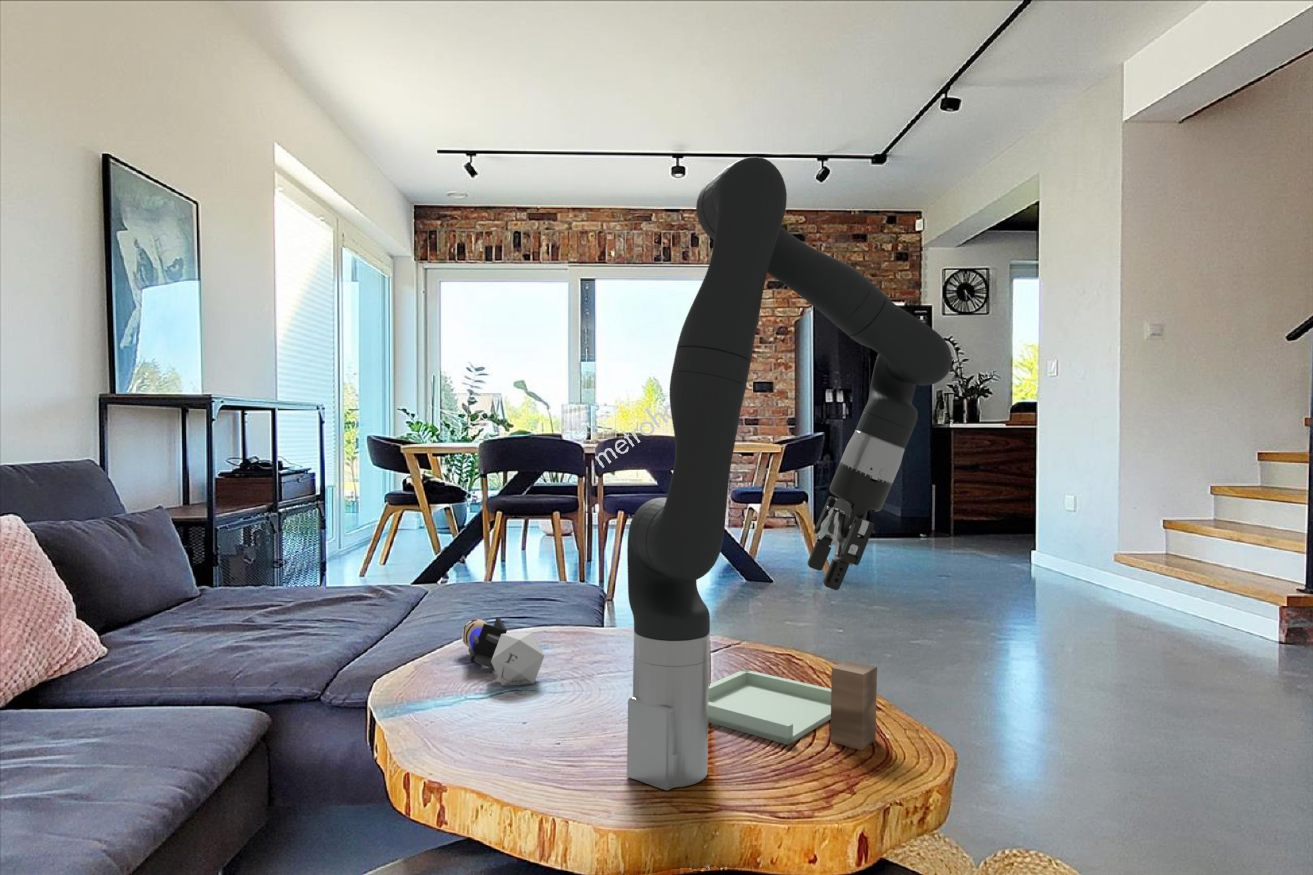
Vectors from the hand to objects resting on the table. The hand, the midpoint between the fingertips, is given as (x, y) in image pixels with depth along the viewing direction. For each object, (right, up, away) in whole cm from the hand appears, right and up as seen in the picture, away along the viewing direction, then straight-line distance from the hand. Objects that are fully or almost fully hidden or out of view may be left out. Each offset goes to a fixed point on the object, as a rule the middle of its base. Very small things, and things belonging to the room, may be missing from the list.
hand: (821, 577), depth 115 cm
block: (+4, -22, -3) cm, 22 cm away
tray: (-7, -21, +8) cm, 24 cm away
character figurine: (-53, -20, +31) cm, 65 cm away
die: (-46, -21, +20) cm, 54 cm away
